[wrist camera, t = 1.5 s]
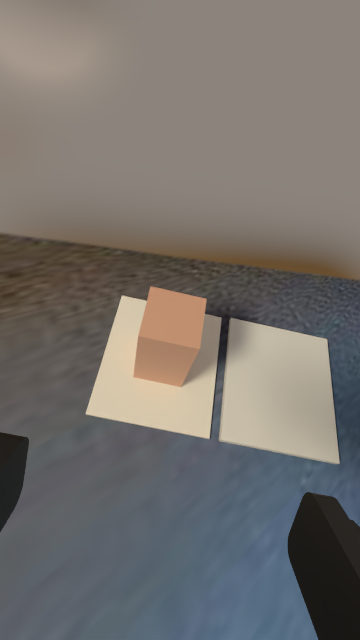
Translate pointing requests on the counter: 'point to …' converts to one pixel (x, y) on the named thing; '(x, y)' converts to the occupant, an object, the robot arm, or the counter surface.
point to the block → (169, 336)
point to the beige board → (278, 392)
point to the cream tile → (148, 396)
